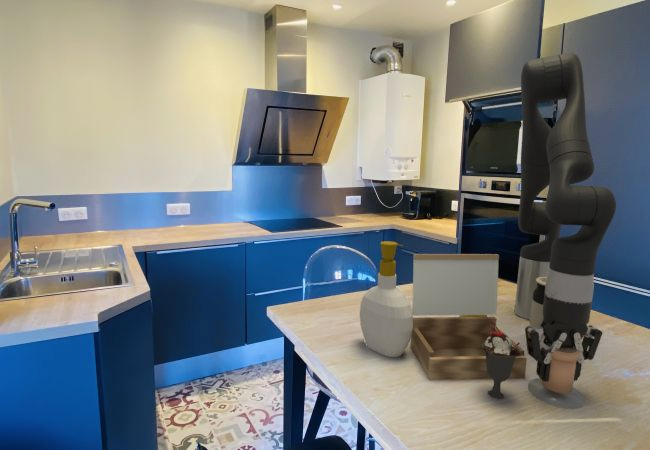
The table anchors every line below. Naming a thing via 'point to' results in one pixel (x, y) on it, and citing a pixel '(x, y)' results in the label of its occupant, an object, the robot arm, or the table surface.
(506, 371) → the sundae
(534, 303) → the travel mug
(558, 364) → the clay pot
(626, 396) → the table surface
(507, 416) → the table surface
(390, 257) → the soap bottle
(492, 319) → the box
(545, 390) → the slate saucer
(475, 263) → the frame lid
